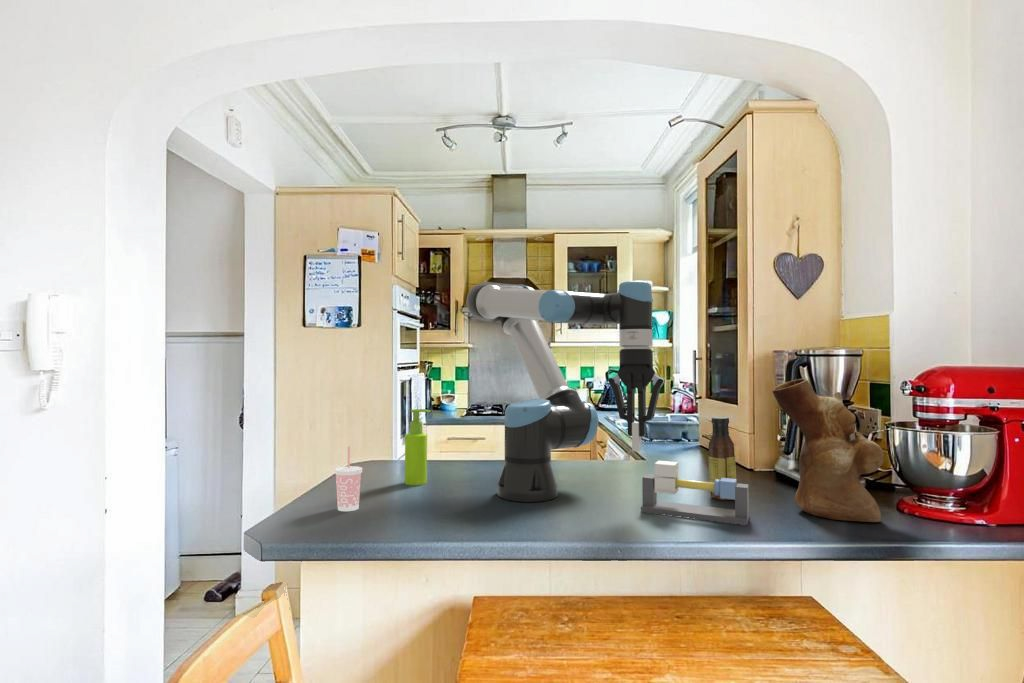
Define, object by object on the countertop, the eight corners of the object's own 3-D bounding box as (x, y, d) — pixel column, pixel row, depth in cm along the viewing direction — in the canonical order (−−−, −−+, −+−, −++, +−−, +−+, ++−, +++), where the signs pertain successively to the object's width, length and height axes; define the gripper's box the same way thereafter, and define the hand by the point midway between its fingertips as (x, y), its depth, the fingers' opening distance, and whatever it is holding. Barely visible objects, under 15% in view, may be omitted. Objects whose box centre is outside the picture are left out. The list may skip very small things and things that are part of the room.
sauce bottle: (732, 495, 142) (732, 415, 143) (740, 501, 136) (739, 418, 136) (705, 494, 143) (705, 415, 143) (711, 501, 137) (711, 418, 137)
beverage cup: (328, 510, 127) (329, 447, 127) (345, 503, 133) (345, 443, 133) (351, 513, 125) (352, 449, 125) (367, 506, 130) (368, 445, 131)
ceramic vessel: (895, 528, 116) (894, 381, 116) (780, 520, 121) (779, 379, 122) (867, 507, 131) (866, 378, 132) (765, 501, 136) (764, 376, 137)
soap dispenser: (428, 485, 151) (429, 410, 152) (402, 485, 151) (403, 410, 152) (432, 480, 157) (432, 408, 157) (407, 480, 157) (407, 408, 158)
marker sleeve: (654, 492, 127) (654, 463, 127) (658, 488, 131) (658, 460, 131) (674, 494, 125) (674, 465, 125) (678, 490, 129) (678, 462, 129)
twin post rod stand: (640, 512, 127) (640, 474, 127) (647, 504, 133) (647, 469, 133) (746, 525, 117) (746, 485, 117) (749, 517, 123) (749, 478, 123)
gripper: (603, 348, 131) (604, 450, 130) (661, 347, 125) (662, 455, 124) (613, 348, 138) (613, 446, 137) (667, 348, 132) (668, 450, 131)
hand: (636, 450), depth 131 cm, fingers closed
